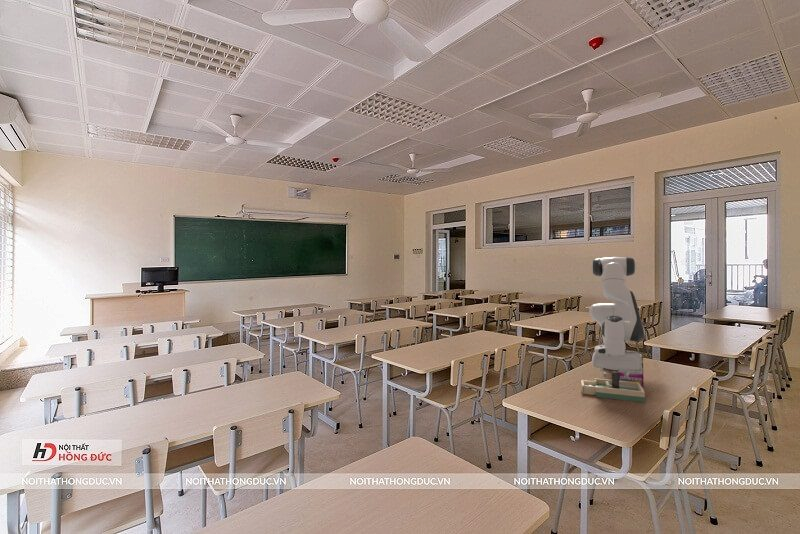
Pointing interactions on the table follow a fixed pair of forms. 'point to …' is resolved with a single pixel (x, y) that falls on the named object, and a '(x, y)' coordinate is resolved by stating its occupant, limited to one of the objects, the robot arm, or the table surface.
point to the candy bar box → (633, 374)
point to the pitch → (614, 390)
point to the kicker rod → (613, 381)
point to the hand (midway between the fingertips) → (615, 377)
